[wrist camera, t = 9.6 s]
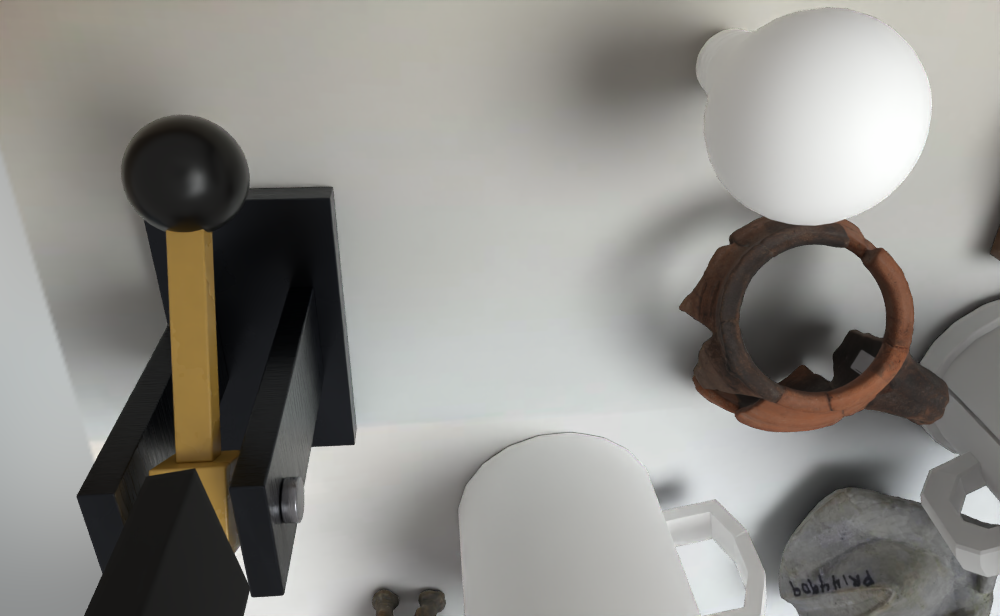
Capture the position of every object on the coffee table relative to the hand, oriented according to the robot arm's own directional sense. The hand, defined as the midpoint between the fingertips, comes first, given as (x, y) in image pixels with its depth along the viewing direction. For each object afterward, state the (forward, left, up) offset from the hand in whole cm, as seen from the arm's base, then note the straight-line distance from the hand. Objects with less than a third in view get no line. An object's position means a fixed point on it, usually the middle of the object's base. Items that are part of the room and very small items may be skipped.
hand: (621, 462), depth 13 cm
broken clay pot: (+4, +15, -20) cm, 26 cm away
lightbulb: (-5, +7, -20) cm, 22 cm away
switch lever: (+9, -7, -13) cm, 17 cm away
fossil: (+14, +27, -20) cm, 36 cm away
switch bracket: (+12, -6, -20) cm, 24 cm away
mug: (+18, +12, -20) cm, 29 cm away
